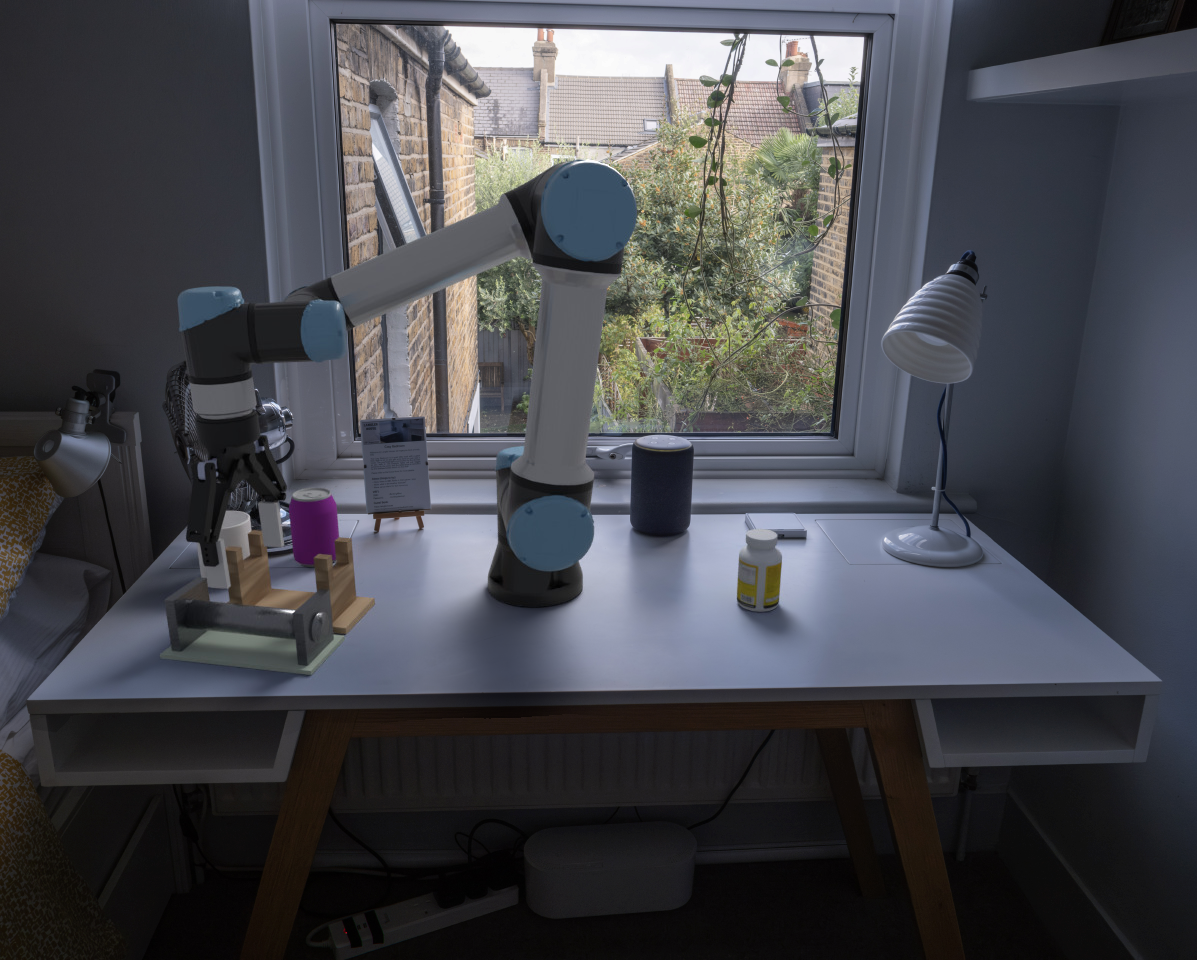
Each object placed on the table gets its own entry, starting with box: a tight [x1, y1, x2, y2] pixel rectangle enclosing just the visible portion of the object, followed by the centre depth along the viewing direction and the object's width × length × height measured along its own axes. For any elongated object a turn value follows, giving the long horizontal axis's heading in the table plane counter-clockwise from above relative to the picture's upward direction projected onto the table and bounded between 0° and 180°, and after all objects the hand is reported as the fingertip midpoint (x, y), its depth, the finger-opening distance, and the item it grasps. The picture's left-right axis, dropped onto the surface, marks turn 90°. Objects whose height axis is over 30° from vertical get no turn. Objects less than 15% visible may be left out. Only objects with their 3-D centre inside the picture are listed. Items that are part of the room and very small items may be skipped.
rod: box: [163, 576, 335, 666], centre depth 127 cm, size 21×8×8 cm, turn 79°
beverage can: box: [288, 487, 340, 568], centre depth 156 cm, size 8×8×12 cm
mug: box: [196, 510, 252, 590], centre depth 147 cm, size 12×8×10 cm
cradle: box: [225, 529, 376, 635], centre depth 137 cm, size 21×10×11 cm, turn 79°
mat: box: [159, 631, 346, 676], centre depth 128 cm, size 22×10×1 cm, turn 79°
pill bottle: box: [736, 528, 783, 613], centre depth 141 cm, size 6×6×12 cm
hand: (248, 565), depth 124 cm, fingers open, 13 cm apart
